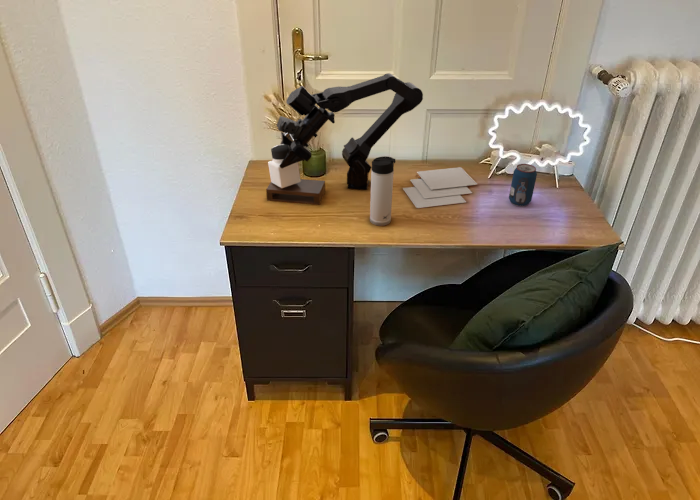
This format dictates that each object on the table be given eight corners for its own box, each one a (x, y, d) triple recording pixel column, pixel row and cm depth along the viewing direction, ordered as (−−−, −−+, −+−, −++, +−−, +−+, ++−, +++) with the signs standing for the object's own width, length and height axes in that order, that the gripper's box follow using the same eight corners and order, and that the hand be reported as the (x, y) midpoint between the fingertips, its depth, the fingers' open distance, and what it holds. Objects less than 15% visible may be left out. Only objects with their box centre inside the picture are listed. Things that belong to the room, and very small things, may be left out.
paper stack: (490, 199, 173) (491, 197, 172) (416, 208, 168) (416, 206, 167) (460, 168, 192) (460, 167, 191) (393, 176, 186) (393, 174, 186)
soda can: (523, 196, 175) (530, 161, 168) (534, 206, 169) (542, 171, 163) (504, 198, 174) (510, 164, 167) (514, 208, 168) (521, 173, 161)
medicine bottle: (301, 182, 171) (296, 145, 165) (281, 188, 168) (275, 151, 162) (290, 176, 176) (284, 140, 171) (270, 182, 173) (264, 146, 167)
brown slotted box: (325, 191, 177) (325, 180, 174) (319, 205, 169) (319, 193, 167) (274, 187, 179) (274, 176, 177) (267, 200, 171) (266, 189, 169)
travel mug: (390, 227, 158) (394, 164, 147) (368, 224, 159) (370, 162, 148) (393, 216, 163) (396, 155, 152) (371, 214, 164) (373, 153, 153)
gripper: (285, 98, 167) (253, 136, 171) (298, 118, 152) (263, 159, 156) (311, 120, 173) (279, 156, 177) (326, 141, 159) (291, 180, 162)
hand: (278, 162), depth 168 cm, fingers closed on medicine bottle, 7 cm apart
